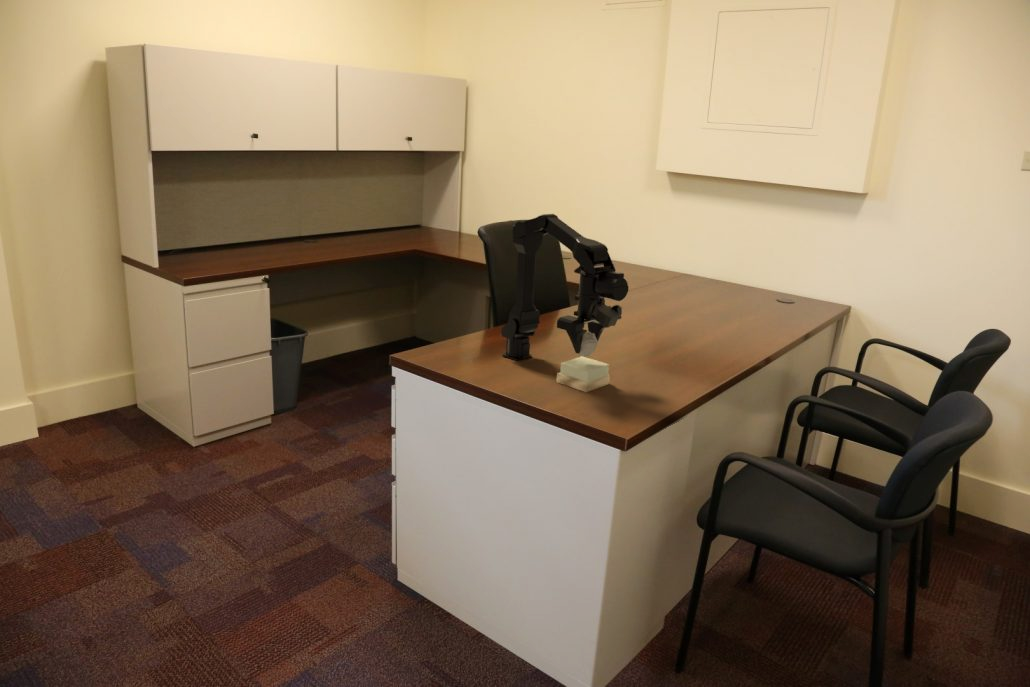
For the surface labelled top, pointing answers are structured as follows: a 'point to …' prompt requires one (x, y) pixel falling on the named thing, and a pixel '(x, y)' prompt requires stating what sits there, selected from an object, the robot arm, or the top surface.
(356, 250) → the top surface
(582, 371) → the upper block
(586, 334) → the frog figurine
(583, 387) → the lower block
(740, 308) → the top surface
